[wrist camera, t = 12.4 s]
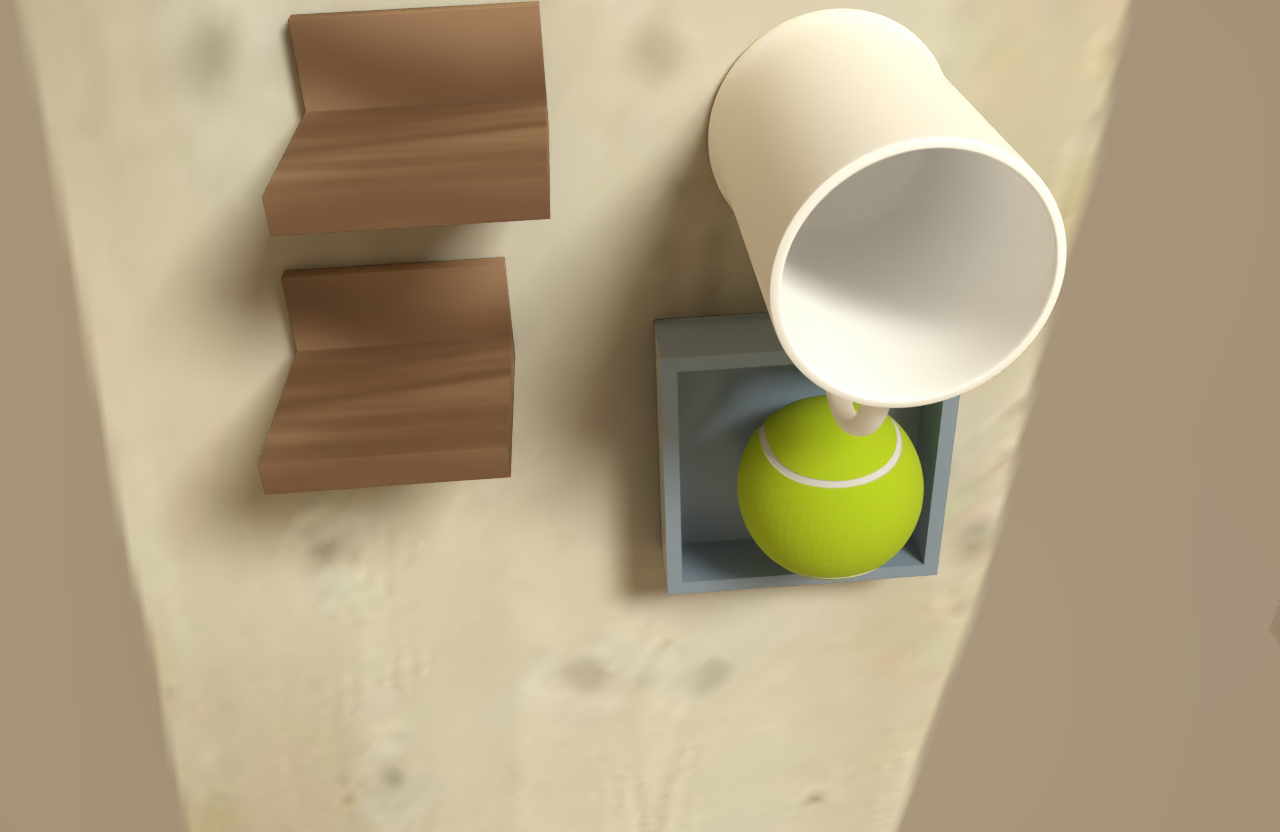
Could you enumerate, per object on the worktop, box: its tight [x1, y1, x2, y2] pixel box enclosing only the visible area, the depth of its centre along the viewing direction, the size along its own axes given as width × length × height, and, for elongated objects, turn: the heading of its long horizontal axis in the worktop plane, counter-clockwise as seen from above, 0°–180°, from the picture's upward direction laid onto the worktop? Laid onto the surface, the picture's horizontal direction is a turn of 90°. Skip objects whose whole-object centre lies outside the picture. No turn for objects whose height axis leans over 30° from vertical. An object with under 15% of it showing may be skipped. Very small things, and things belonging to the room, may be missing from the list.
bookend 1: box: [262, 1, 550, 236], centre depth 36 cm, size 4×8×8 cm, turn 92°
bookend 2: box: [258, 257, 515, 494], centre depth 41 cm, size 4×8×8 cm, turn 92°
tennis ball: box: [737, 395, 924, 580], centre depth 45 cm, size 7×7×7 cm
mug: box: [708, 9, 1066, 436], centre depth 38 cm, size 12×8×12 cm
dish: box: [654, 312, 960, 595], centre depth 47 cm, size 11×11×3 cm
